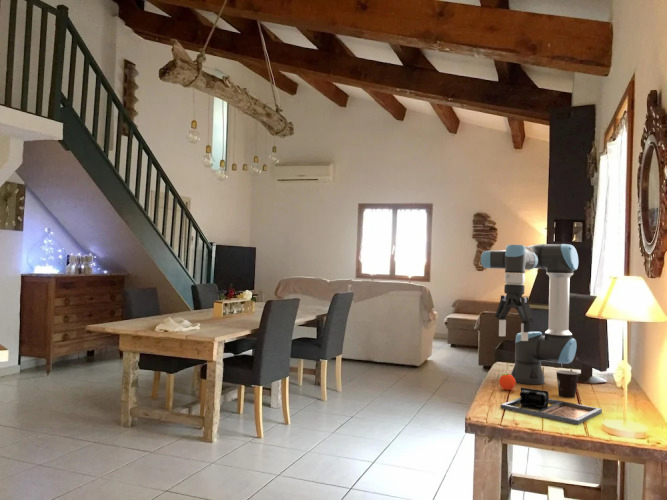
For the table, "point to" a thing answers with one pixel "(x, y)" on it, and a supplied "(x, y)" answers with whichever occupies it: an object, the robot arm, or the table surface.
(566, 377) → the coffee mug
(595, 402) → the table surface
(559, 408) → the divided grey frame
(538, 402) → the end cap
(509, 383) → the clementine
